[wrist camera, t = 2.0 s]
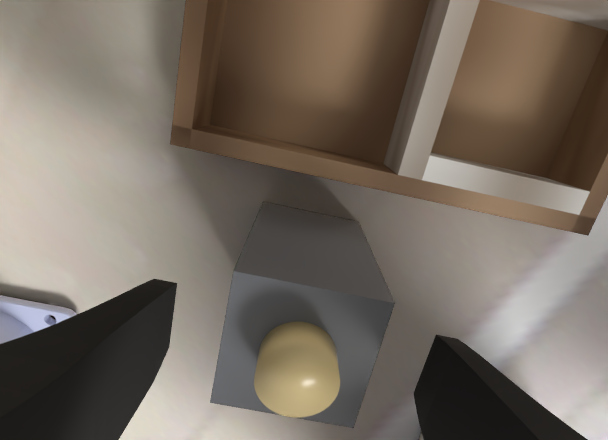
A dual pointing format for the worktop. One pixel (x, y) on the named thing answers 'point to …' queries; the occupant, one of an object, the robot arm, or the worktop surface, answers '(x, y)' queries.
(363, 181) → the walnut box
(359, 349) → the plug
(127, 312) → the robot arm
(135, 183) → the worktop surface
